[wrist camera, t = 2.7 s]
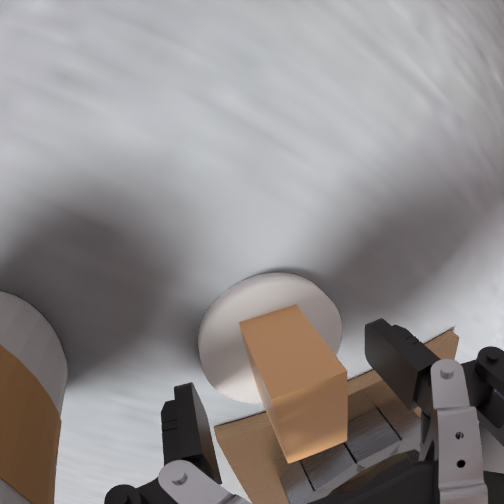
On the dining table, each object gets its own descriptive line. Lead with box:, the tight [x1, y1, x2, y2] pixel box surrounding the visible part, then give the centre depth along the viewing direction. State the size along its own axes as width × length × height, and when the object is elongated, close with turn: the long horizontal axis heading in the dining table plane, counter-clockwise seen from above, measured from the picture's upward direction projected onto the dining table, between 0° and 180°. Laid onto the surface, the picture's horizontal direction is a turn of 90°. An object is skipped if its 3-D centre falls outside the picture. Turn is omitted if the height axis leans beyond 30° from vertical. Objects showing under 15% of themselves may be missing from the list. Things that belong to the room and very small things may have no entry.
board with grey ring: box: [214, 330, 459, 504], centre depth 18 cm, size 16×16×4 cm
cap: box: [198, 272, 348, 464], centre depth 12 cm, size 6×6×6 cm
